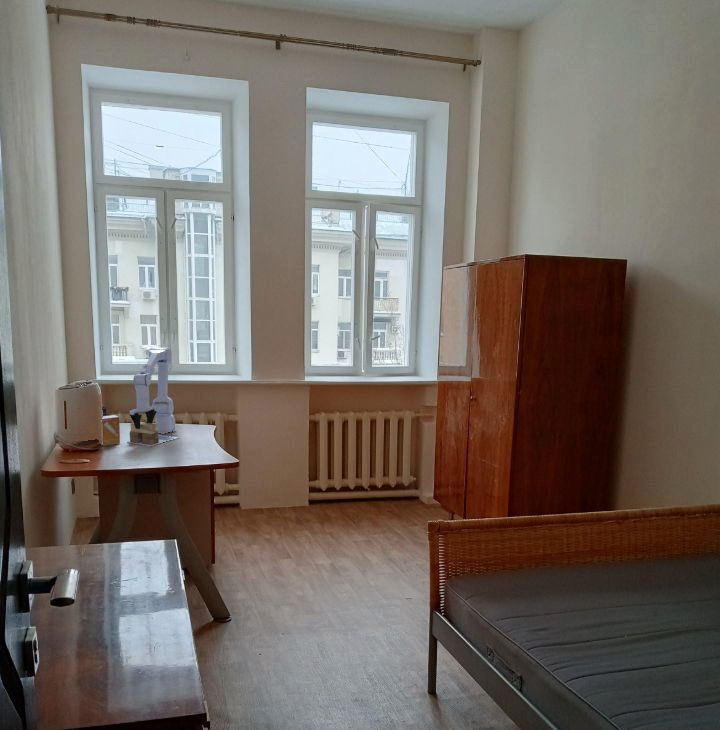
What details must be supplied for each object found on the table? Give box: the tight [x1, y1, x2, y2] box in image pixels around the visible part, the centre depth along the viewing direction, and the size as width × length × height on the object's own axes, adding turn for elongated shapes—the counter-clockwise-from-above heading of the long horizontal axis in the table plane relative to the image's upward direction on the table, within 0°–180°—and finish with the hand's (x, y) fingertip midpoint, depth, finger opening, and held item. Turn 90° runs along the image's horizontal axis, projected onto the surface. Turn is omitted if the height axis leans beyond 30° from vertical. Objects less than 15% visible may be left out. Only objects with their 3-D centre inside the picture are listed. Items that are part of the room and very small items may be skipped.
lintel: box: [129, 421, 158, 434], centre depth 268 cm, size 4×13×4 cm, turn 66°
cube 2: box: [142, 432, 159, 445], centre depth 267 cm, size 5×5×5 cm
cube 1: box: [129, 430, 143, 443], centre depth 270 cm, size 5×5×5 cm
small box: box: [101, 414, 121, 447], centre depth 267 cm, size 8×6×13 cm
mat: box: [126, 434, 180, 447], centre depth 274 cm, size 18×16×1 cm
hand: (143, 427), depth 268 cm, fingers open, 7 cm apart
